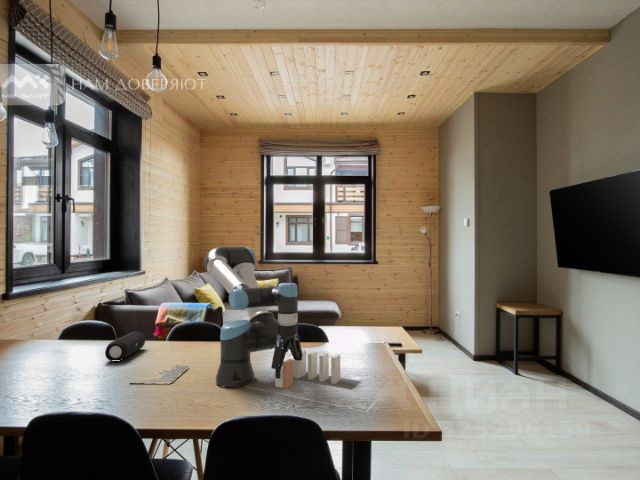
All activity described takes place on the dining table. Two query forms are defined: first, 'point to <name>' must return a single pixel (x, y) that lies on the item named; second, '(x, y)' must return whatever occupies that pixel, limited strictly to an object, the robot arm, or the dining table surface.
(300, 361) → the domino
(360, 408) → the dining table surface
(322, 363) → the domino
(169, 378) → the play button award
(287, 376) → the end domino
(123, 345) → the portable speaker
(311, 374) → the domino
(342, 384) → the mat
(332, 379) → the domino
